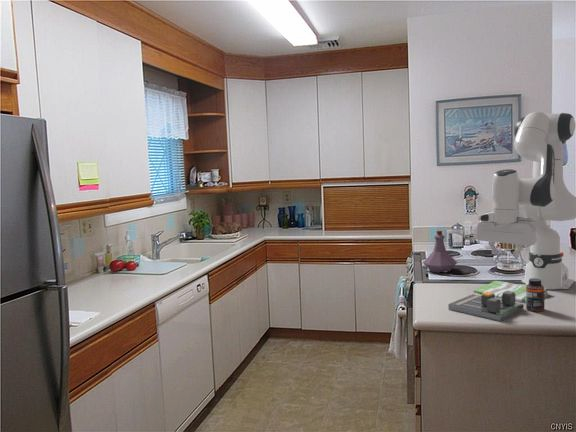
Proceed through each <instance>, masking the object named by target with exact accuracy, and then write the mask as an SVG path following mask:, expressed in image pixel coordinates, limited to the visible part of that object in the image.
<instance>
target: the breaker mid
mask: <svg viewBox="0 0 576 432" xmlns="http://www.w3.org/2000/svg"><path fill="white" fill-rule="evenodd" d="M480 296H481V304H482V305H487V300H488V299H490V298H496V297H495V295H494V293H491V292H485V293H483V294H480Z"/></svg>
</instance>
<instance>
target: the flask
mask: <svg viewBox="0 0 576 432" xmlns="http://www.w3.org/2000/svg"><path fill="white" fill-rule="evenodd" d="M445 237H446V236H445V235H443V231H442V230H436V235H434V240H435V243H434V248H433V250H432V252H431V253H430V255H429V256H428V257H426V258H425V259H424V260H423V262H422V263H423V264H424V266H425V267H426V268H427V269H428V270H429V271H430V272H431V273H434V272H444V271H449V270H450V271H452V269H453V268H454V267H455V266H456V265H457V264H458V261H456V259H455V258H453V257H452V256H451V254H450V253H449V252H448V251H447V249H446V246H445V242H444V239H445ZM450 271H449V272H450Z"/></svg>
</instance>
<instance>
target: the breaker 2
mask: <svg viewBox="0 0 576 432" xmlns="http://www.w3.org/2000/svg"><path fill="white" fill-rule="evenodd" d="M501 300H502V304H506V305H512V304H514V303H516V301H515V292H511V291H506V292H504V293H503V294H502V299H501Z"/></svg>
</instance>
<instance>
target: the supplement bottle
mask: <svg viewBox="0 0 576 432" xmlns="http://www.w3.org/2000/svg"><path fill="white" fill-rule="evenodd" d="M525 286H526V303H525V308H526V310H527V311H529V312H535V313H536V312H537V313H539V312H543V311H545V297H544V286H543V285H541V279H537V278H531V279H529V284H528V285H525Z"/></svg>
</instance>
